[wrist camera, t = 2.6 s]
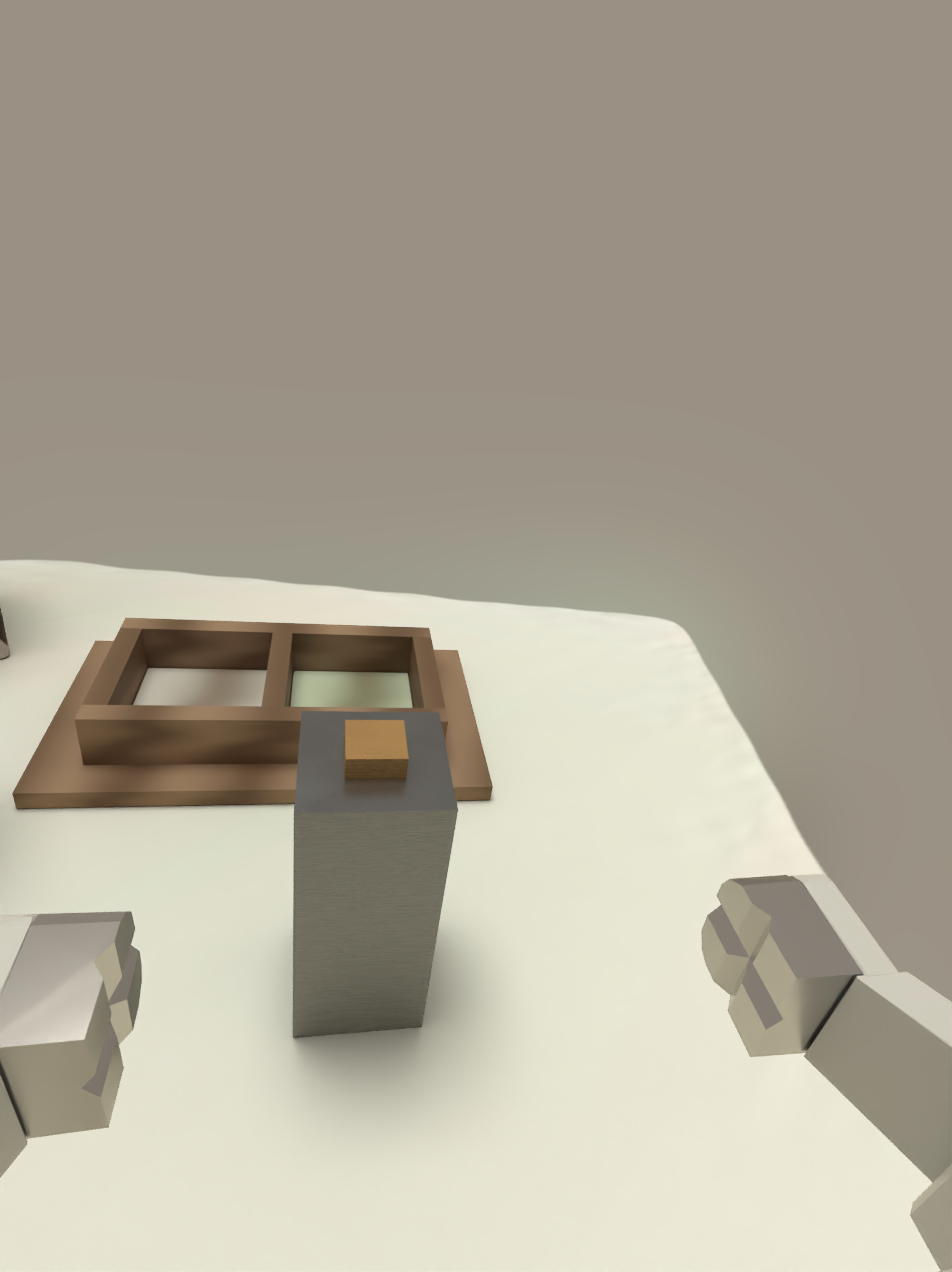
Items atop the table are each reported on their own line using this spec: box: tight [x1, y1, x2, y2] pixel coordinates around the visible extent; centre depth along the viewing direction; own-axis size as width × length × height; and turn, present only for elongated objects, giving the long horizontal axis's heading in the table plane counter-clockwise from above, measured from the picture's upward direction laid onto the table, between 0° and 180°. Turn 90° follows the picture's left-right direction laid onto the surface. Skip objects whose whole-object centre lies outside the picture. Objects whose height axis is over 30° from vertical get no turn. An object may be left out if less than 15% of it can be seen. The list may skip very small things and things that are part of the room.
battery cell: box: [293, 711, 458, 1038], centre depth 27 cm, size 5×5×13 cm
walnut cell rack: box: [12, 618, 493, 808], centre depth 42 cm, size 24×14×4 cm, turn 99°
